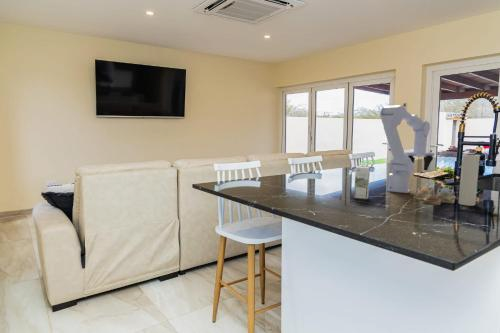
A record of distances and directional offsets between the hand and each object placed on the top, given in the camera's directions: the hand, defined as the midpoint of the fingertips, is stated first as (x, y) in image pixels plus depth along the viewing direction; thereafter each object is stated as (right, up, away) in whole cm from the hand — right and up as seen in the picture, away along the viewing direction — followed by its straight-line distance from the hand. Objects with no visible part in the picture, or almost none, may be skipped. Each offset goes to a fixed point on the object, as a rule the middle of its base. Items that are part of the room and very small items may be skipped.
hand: (418, 170), depth 180 cm
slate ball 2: (-2, -10, -27) cm, 29 cm away
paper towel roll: (+4, -14, -34) cm, 37 cm away
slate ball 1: (-6, -9, -19) cm, 22 cm away
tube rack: (-4, -13, -23) cm, 26 cm away
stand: (-10, -14, -32) cm, 36 cm away
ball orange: (-8, -10, -23) cm, 26 cm away
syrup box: (-37, -13, -23) cm, 46 cm away
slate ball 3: (+1, -10, -23) cm, 25 cm away
